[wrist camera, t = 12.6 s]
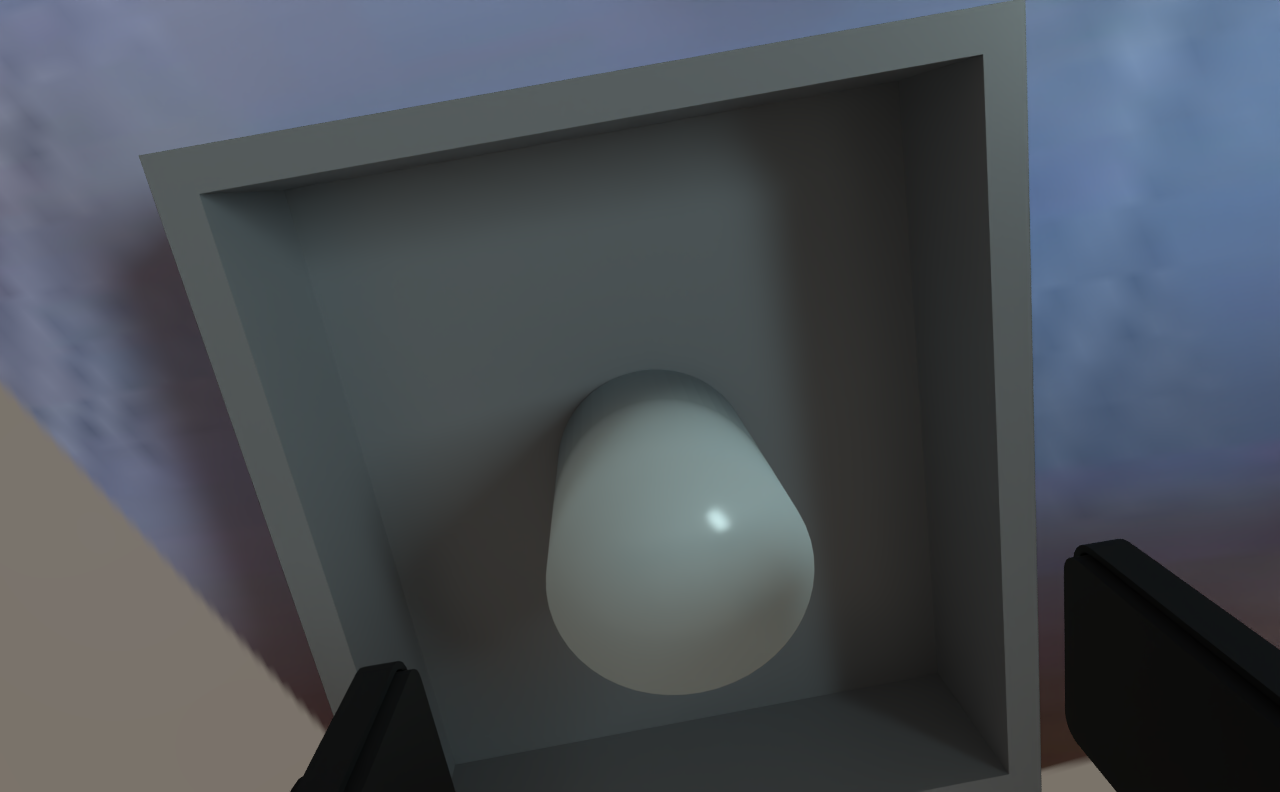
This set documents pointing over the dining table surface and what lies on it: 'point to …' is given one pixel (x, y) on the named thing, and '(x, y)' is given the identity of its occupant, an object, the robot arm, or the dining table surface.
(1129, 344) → the dining table surface
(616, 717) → the bin
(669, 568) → the pale green capsule
